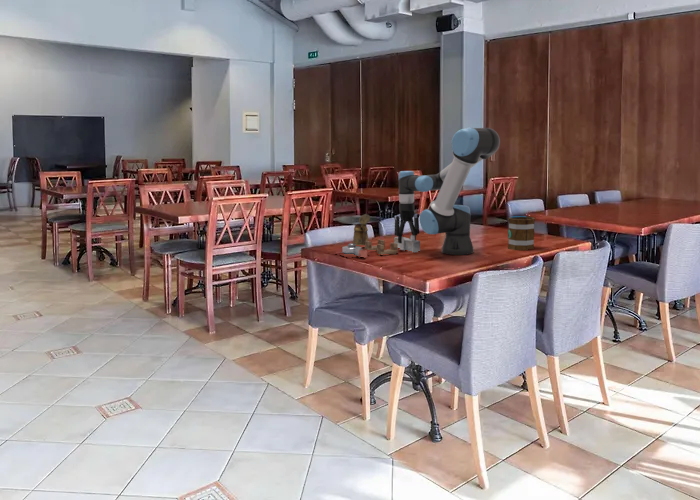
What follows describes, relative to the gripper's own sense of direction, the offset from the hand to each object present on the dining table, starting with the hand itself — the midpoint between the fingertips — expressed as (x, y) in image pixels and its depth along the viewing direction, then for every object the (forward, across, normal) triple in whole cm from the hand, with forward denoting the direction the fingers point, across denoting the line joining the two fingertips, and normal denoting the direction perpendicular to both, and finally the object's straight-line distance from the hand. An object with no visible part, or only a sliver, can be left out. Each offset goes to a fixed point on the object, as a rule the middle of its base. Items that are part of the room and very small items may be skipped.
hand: (407, 248), depth 323 cm
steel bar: (+1, 0, 0) cm, 1 cm away
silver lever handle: (0, +30, +2) cm, 30 cm away
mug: (+1, -50, +25) cm, 56 cm away
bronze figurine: (0, +15, -19) cm, 24 cm away
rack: (0, +15, 0) cm, 15 cm away
